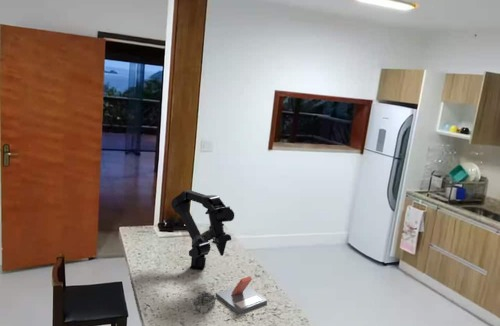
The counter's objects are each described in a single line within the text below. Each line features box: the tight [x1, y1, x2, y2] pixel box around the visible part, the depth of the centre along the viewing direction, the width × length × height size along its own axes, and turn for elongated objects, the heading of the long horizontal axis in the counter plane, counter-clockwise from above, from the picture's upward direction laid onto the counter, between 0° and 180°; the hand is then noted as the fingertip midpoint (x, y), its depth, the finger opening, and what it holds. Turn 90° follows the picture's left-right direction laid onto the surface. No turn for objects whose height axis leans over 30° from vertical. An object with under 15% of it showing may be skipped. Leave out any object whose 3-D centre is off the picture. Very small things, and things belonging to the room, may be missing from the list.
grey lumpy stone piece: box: [190, 290, 218, 314], centre depth 166 cm, size 11×8×4 cm
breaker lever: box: [231, 276, 253, 295], centre depth 173 cm, size 2×6×10 cm
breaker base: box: [215, 285, 268, 315], centre depth 174 cm, size 16×16×2 cm
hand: (222, 255), depth 187 cm, fingers closed
